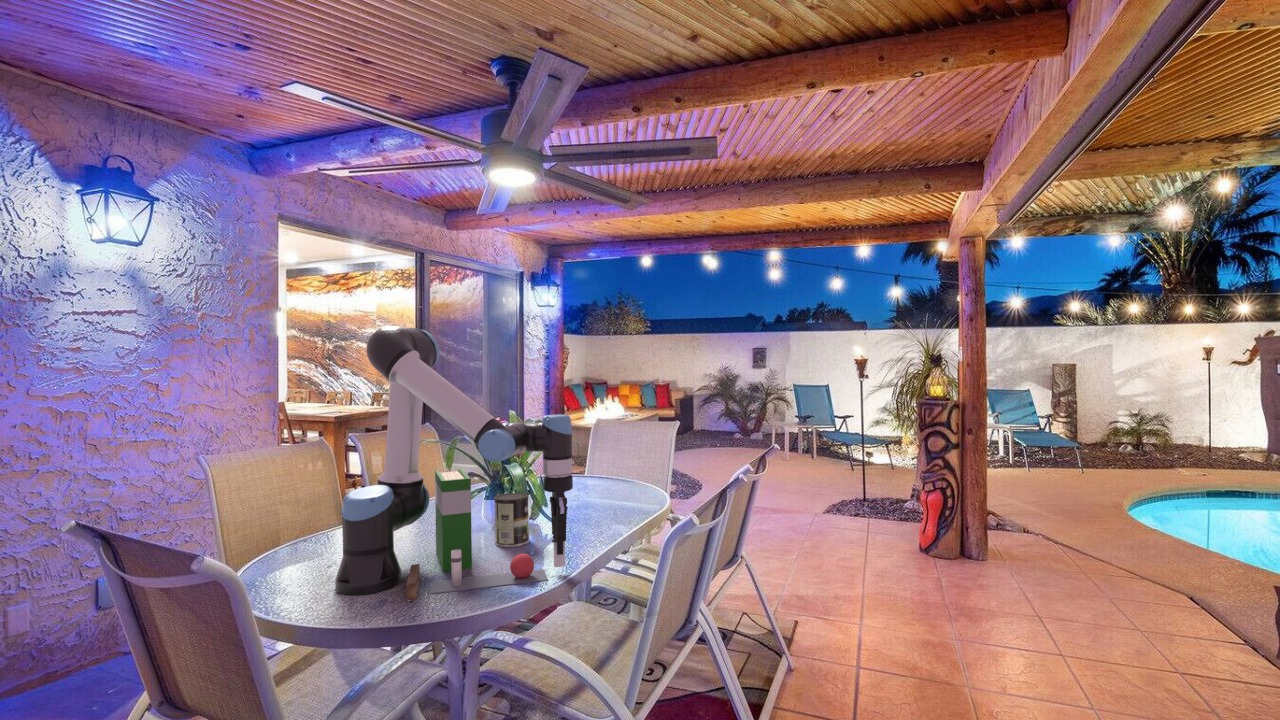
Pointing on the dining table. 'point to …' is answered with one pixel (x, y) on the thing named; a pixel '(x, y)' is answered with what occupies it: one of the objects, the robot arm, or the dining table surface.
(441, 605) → the dining table surface
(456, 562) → the pin
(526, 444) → the robot arm
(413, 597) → the stopper wall
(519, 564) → the ball
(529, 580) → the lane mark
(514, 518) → the coffee can
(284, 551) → the dining table surface
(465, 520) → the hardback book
